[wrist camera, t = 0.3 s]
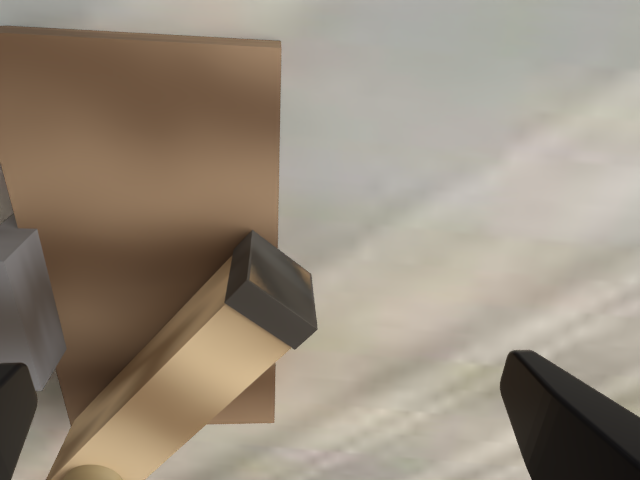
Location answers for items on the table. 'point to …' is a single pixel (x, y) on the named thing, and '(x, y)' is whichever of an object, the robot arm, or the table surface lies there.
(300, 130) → the table surface
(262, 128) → the brown wooden block
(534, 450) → the robot arm
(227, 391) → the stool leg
